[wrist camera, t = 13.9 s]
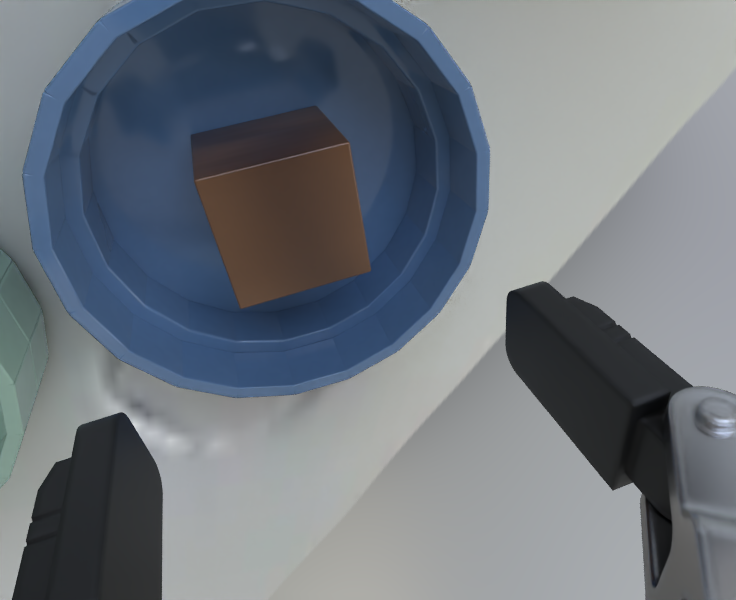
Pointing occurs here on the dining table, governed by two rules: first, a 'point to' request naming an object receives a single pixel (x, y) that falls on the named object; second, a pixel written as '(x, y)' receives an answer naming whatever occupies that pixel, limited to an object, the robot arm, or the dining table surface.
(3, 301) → the celadon bowl
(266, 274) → the walnut block
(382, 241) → the blue bowl
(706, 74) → the dining table surface
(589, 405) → the robot arm
